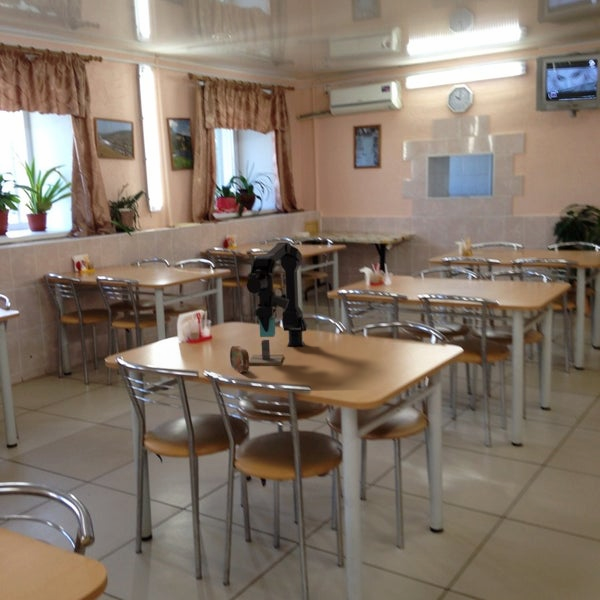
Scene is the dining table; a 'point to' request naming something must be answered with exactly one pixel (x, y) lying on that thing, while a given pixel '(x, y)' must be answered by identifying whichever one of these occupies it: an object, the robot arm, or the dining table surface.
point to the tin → (239, 359)
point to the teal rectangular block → (270, 331)
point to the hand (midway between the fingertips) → (267, 330)
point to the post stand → (266, 356)
